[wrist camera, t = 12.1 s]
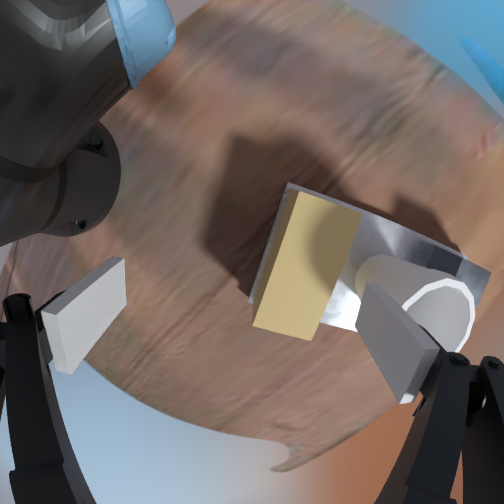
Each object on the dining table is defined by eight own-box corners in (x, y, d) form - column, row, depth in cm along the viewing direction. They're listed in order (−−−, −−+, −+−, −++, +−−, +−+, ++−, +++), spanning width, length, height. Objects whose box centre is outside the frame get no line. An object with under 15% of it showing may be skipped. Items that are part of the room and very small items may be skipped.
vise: (248, 297, 34) (245, 328, 27) (286, 181, 31) (295, 183, 24) (421, 341, 36) (445, 369, 29) (461, 253, 33) (494, 269, 25)
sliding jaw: (253, 300, 33) (252, 325, 27) (291, 188, 30) (299, 190, 24) (302, 313, 33) (310, 340, 27) (343, 207, 30) (362, 214, 24)
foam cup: (404, 313, 33) (456, 370, 21) (338, 317, 33) (373, 386, 21) (416, 241, 31) (484, 275, 18) (346, 240, 31) (397, 279, 18)
